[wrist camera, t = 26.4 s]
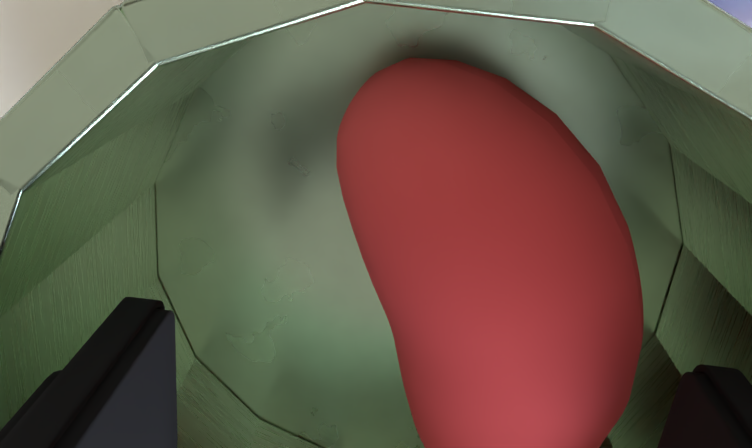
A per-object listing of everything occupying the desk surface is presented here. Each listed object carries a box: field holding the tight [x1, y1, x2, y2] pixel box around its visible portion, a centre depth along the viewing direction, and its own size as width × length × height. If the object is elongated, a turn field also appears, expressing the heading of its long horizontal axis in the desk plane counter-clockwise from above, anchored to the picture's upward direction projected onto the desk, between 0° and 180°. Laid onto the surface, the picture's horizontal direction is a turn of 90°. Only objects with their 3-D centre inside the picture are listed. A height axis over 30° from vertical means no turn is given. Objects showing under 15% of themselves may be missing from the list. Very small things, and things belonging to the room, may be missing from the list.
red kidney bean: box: [336, 58, 644, 448], centre depth 13 cm, size 5×9×6 cm, turn 13°
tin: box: [0, 0, 752, 448], centre depth 13 cm, size 14×14×8 cm
